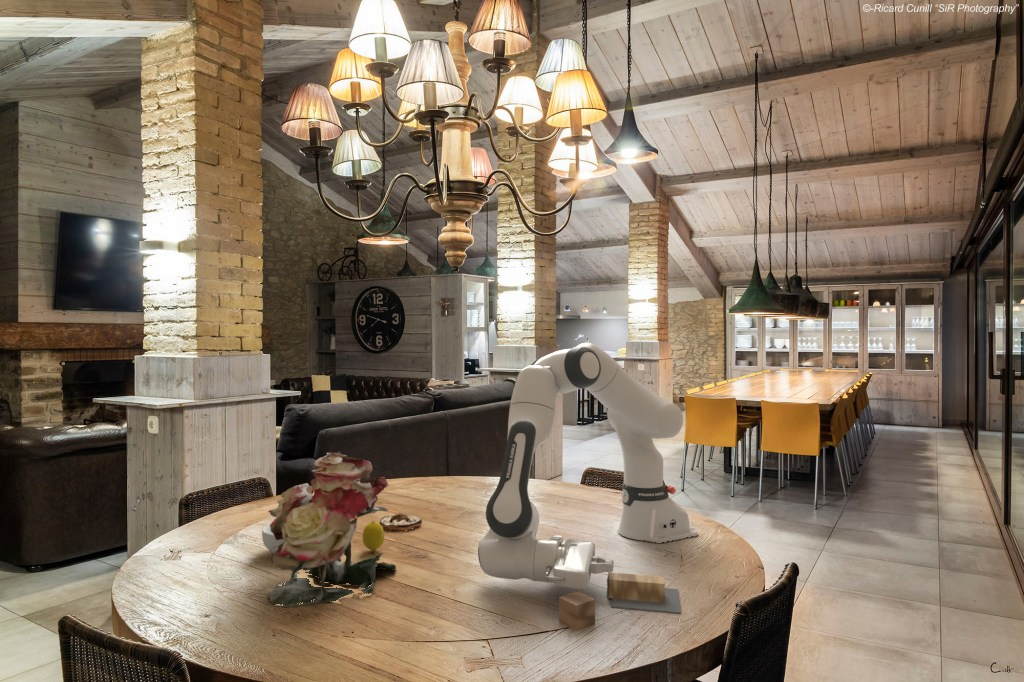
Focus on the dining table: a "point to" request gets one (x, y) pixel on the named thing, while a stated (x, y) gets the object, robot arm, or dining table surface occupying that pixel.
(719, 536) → the dining table surface
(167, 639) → the dining table surface
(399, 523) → the cream pie
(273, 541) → the cereal bowl
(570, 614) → the walnut cube
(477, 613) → the dining table surface
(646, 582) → the oak block
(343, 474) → the rose bouquet
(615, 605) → the felt mat
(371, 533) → the lemon
